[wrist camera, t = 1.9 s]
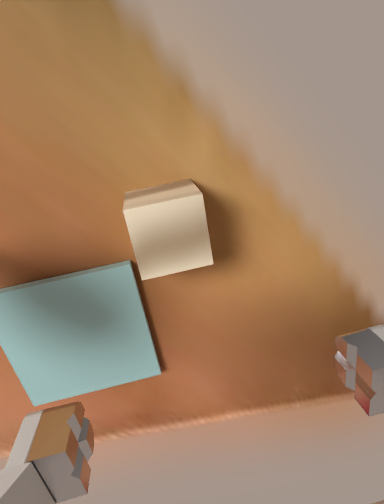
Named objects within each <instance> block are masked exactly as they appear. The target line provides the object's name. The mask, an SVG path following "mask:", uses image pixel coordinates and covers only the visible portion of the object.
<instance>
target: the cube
mask: <svg viewBox="0 0 384 504" xmlns="http://www.w3.org/2000/svg"><path fill="white" fill-rule="evenodd" d="M123 213H124V216H125V220H126V224H127V227H128V231H129V235H130V238H131V242H132V246H133V249H134V253H135V257H136V260H137V264H138V268H139V271H140V275H141V279H142V280H146V279H151V278H155V277H160V276H164V275H168V274H173V273H177V272H181V271H186V270H190V269H195V268H199V267H203V266H208V265H212V264H214V263H213V257H212V251H211V244H210V238H209V232H208V225H207V219H206V213H205V206H204V200H203V194H202V192H201V191H200V190H199V189H198V188H197V186H196V185H195V184H194V183H193V182H192V180H191V179H187V180H182V181H177V182H172V183H167V184H162V185H158V186H153V187H148V188H143V189H138V190H133V191H129V192H125V198H124V206H123Z"/></svg>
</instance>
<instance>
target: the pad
mask: <svg viewBox="0 0 384 504" xmlns="http://www.w3.org/2000/svg"><path fill="white" fill-rule="evenodd" d="M0 345H1V347H2V349H3V350H4V352H5V354H6V356H7V358H8V360H9V361H10V363H11V365H12V367H13V369H14V371H15V372H16V374H17V376H18V378H19V380H20V381H21V383H22V385H23V387H24V389H25V391H26V392H27V394H28V396H29V398H30V400H31V402H32V403H33V405H34V406H37V405H41V404H45V403H49V402H53V401H57V400H61V399H65V398H69V397H73V396H77V395H81V394H85V393H89V392H93V391H96V390H100V389H104V388H108V387H112V386H116V385H120V384H124V383H128V382H132V381H136V380H140V379H144V378H148V377H152V376H156V375H160V374H161V368H160V364H159V361H158V357H157V353H156V350H155V346H154V343H153V339H152V336H151V332H150V329H149V325H148V321H147V318H146V314H145V311H144V307H143V304H142V300H141V296H140V293H139V289H138V286H137V282H136V279H135V275H134V271H133V268H132V264H131V261H130V260H128V261H123V262H119V263H114V264H110V265H105V266H101V267H96V268H92V269H87V270H83V271H78V272H74V273H69V274H65V275H60V276H56V277H51V278H47V279H42V280H38V281H33V282H29V283H24V284H20V285H15V286H11V287H6V288H2V289H0Z"/></svg>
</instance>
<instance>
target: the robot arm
mask: <svg viewBox="0 0 384 504" xmlns="http://www.w3.org/2000/svg"><path fill="white" fill-rule="evenodd" d="M335 347H336V348H337V350H338V352H337V354H336V355H335V356H334V365H335V368H336V372H337V374H338V376H339V378H340V380H341V381H342V383H343V384H344V385H345V387H347V388H350V389H352V390H354V391H355V399H356V401H357V402H358V403H359V404H360V406H361V407H362V408H363V410H364V411H365V412H366V413H367V415H368V416H373V415H377V414H381V413H384V325H382V324H380V325H376V326H373V327H369V328H366V329H361V330H358V331H354V332H350V333H346V334H342V335H339V336H336V338H335ZM84 411H85V409H84V407H83V405H82V403H81V402H74V403H70V404H65V405H61V406H56V407H52V408H48V409H45V410H40V411H36V412H32V413H28V414H27V415H26V416H25V417H24V419H23V422H22V424H21V427H20V430H19V432H18V435H17V437H16V440H15V443H14V445H13V448H12V451H11V453H10V456H9V458H8V461H7V464H6V466H5V469H2V470H0V504H56V503H59V502H62V501H66V500H69V499H72V498H76V497H79V496H82V495H85V494H87V493H88V486H89V478H90V472H91V469H90V466H89V464H88V462H87V461H88V460H89V459H90V457H91V456H92V454H93V448H94V434H93V429H92V425H91V423H90V420H88V419H87V418H85V417H84ZM372 504H384V500H383V501H379V502H376V503H372Z"/></svg>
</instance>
